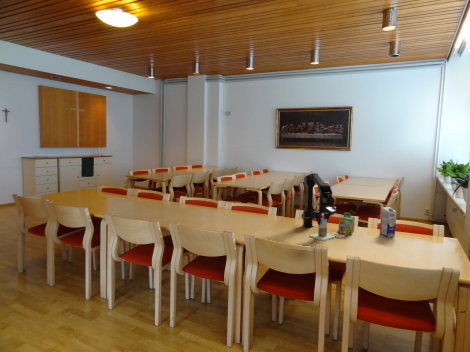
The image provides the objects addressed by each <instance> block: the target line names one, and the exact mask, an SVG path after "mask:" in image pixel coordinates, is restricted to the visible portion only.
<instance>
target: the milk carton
mask: <svg viewBox="0 0 470 352" xmlns="http://www.w3.org/2000/svg"><path fill="white" fill-rule="evenodd" d="M380 213H381V215H380V229H379V235H381V236H382V237H386V238H391V237H392V238H393V237H395V235H396V234H395V233H396V222H397V210H395V209H394V208H392V207H391V206H384V207H383V206H382V207H381V212H380Z"/></svg>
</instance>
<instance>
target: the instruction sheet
mask: <svg viewBox="0 0 470 352" xmlns="http://www.w3.org/2000/svg"><path fill="white" fill-rule="evenodd" d="M337 234H338V233H337ZM337 234H333V235H336V236H337V237H336V238H338V237H339V239H341V238H344V237H346V235H345V234H342V233H339V234H340V235H337Z"/></svg>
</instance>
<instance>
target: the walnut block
mask: <svg viewBox="0 0 470 352" xmlns="http://www.w3.org/2000/svg"><path fill="white" fill-rule="evenodd" d="M317 229H318V231H317V233H318V236H321V237H325V236H327V234H328V231H327V230H328V227H327V228H319V227H318V228H317Z"/></svg>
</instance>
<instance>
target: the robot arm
mask: <svg viewBox="0 0 470 352" xmlns="http://www.w3.org/2000/svg"><path fill="white" fill-rule="evenodd" d="M303 181H304V182H303V183H304V186H306V191H305V193H306V195H305V199H306V201H305V206H304V208H303V211H302V213H301V216H300V217H301V219H303V220H302V221H303V222H302V224H301V227H303V228H306V229H309V228H312V227H313V228H314V225H313V220H314V219H315V221H316V222H317V223H316V224H318V225H319V226H320V224H321V218H325V219H327V223H328V222H329V219H330V218H331V216H334V214H336V213H337V207H336V206H333V205H334V204H335V198H334V197H333V190H332V188H331V185H330V183H328V182H325V181H323V180H322V178H321V177H320V175H319V174H318V173H315V172H313V173H310V174H306V175H305V176H304V178H303ZM315 186H317V191H318V195H319V199H318V200H319V203H317V206H319V207H318V208H317V210H316V209H315V208H314V206H313V201H314V200H313V199H314V198H313V197H314V187H315Z"/></svg>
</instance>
